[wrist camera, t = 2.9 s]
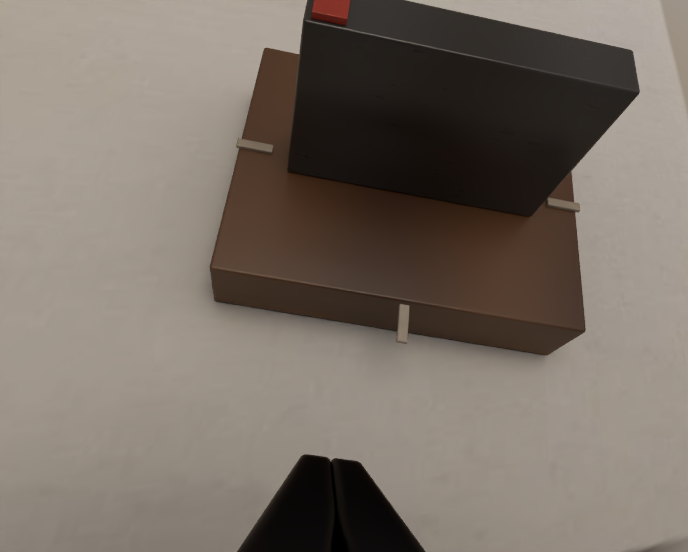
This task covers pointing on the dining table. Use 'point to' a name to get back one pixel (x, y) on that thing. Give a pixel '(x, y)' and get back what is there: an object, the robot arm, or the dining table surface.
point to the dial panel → (389, 246)
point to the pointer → (449, 102)
